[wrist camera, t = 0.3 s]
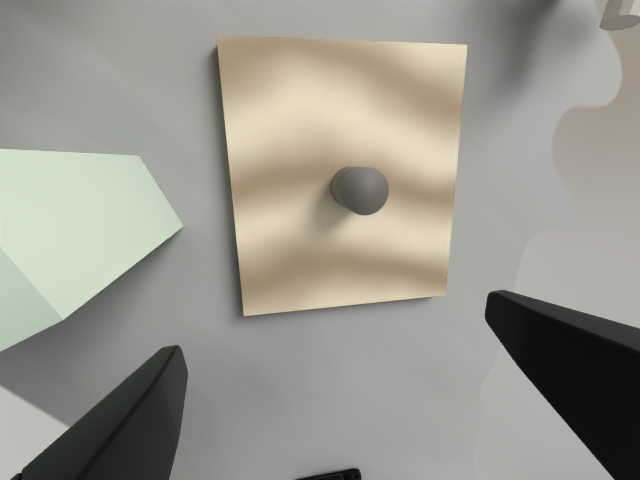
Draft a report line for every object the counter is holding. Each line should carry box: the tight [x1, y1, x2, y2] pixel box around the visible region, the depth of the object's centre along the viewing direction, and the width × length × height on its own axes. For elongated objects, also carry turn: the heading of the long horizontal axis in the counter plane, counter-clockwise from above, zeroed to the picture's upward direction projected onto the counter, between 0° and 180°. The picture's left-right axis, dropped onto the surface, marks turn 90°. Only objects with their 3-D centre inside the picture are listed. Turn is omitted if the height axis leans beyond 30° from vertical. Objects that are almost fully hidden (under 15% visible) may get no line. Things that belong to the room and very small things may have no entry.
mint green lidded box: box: [0, 149, 183, 352], centre depth 14 cm, size 5×5×13 cm
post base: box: [216, 35, 467, 316], centre depth 20 cm, size 18×16×5 cm
